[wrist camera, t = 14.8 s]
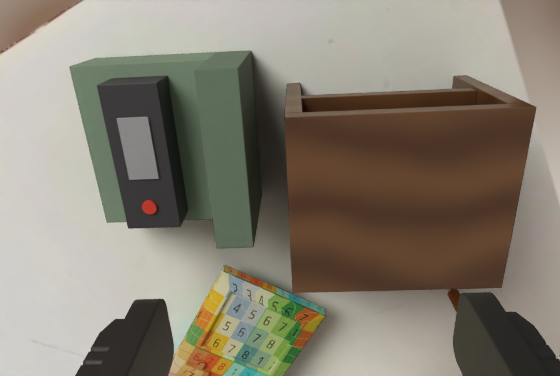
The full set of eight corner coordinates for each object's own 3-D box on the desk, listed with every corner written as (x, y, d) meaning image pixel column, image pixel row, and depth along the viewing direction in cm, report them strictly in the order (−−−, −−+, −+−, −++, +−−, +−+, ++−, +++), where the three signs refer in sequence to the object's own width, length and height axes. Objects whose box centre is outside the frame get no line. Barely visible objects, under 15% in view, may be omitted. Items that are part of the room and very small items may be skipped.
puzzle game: (150, 403, 50) (222, 276, 42) (162, 370, 54) (228, 250, 46) (242, 437, 51) (326, 321, 44) (246, 403, 56) (323, 292, 48)
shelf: (286, 83, 39) (284, 117, 28) (467, 75, 38) (537, 107, 27) (292, 220, 45) (292, 293, 34) (449, 215, 44) (501, 288, 33)
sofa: (125, 199, 44) (82, 252, 35) (95, 58, 39) (33, 77, 29) (261, 194, 44) (253, 247, 34) (251, 50, 38) (237, 67, 29)
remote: (111, 77, 34) (94, 85, 31) (167, 75, 34) (155, 82, 31) (139, 212, 39) (126, 230, 36) (188, 210, 39) (180, 228, 36)
